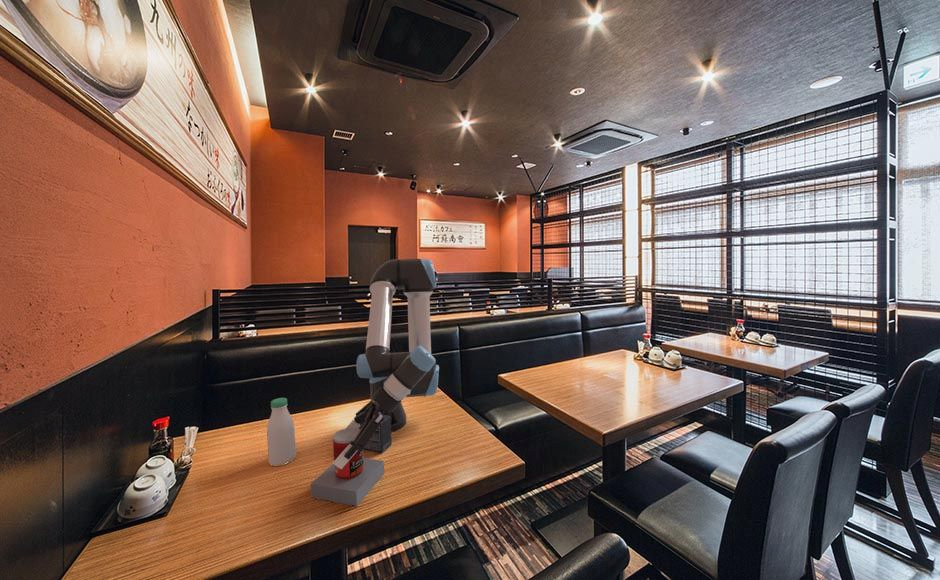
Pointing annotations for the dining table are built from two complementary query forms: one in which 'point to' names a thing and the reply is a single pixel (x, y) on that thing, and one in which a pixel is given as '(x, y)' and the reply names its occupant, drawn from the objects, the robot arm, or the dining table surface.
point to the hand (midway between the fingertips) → (339, 452)
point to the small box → (380, 437)
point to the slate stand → (347, 484)
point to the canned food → (339, 445)
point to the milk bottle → (280, 434)
